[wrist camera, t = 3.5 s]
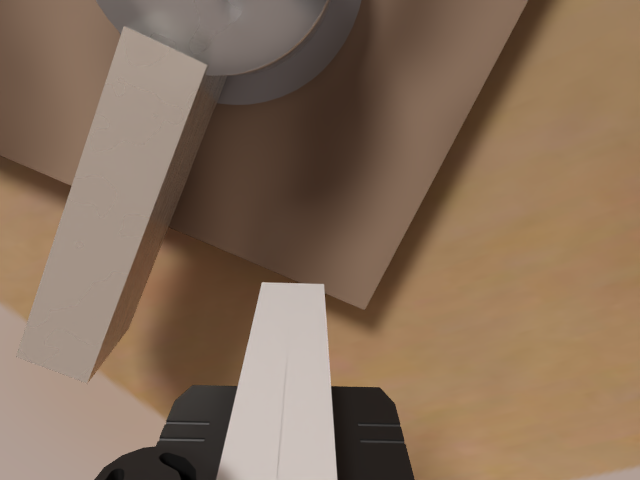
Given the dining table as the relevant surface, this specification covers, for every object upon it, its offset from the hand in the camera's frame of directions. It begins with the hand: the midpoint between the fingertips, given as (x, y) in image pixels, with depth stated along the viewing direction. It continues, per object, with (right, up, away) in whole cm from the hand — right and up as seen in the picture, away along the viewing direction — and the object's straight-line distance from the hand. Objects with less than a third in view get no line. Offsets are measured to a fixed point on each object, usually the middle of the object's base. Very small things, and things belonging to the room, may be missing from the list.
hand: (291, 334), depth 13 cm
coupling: (-4, +7, +6) cm, 10 cm away
